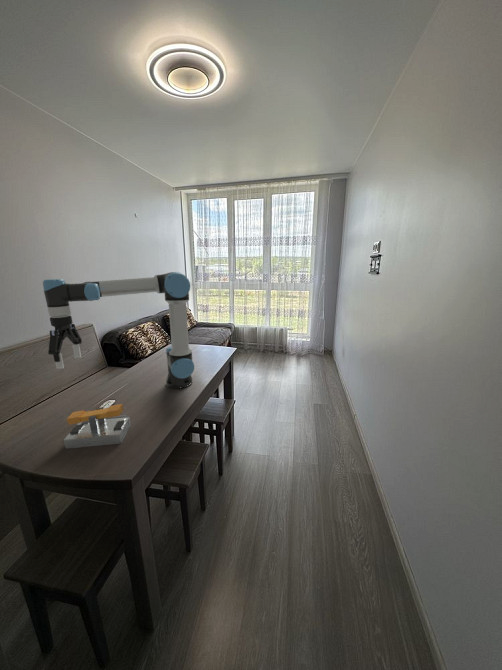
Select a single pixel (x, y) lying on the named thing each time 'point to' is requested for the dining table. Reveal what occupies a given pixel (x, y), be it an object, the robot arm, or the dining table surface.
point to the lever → (95, 414)
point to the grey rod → (117, 417)
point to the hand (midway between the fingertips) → (69, 362)
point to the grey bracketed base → (98, 432)
